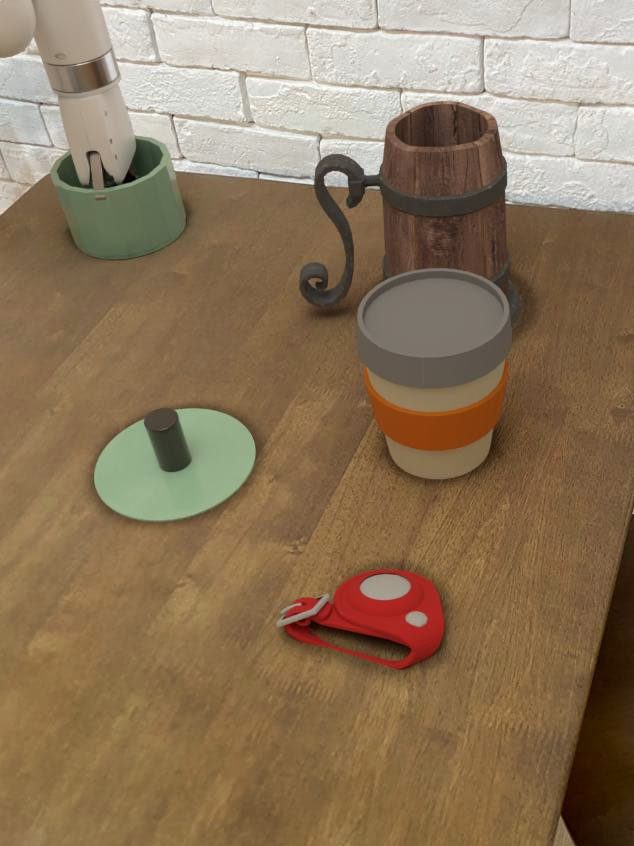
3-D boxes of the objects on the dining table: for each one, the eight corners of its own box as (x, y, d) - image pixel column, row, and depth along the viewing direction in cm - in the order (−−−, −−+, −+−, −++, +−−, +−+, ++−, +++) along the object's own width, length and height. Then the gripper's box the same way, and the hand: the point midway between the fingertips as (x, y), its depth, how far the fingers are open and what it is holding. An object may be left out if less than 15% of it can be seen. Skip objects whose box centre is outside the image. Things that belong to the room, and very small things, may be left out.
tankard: (519, 263, 104) (525, 78, 89) (537, 357, 93) (547, 163, 78) (310, 278, 105) (280, 97, 90) (302, 372, 94) (267, 183, 79)
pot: (62, 262, 110) (36, 195, 104) (89, 204, 120) (66, 138, 113) (176, 256, 110) (157, 188, 103) (194, 198, 119) (177, 131, 112)
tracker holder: (397, 545, 76) (474, 598, 69) (398, 591, 78) (473, 648, 71) (263, 592, 70) (333, 657, 63) (268, 641, 72) (336, 709, 65)
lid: (80, 532, 81) (56, 482, 76) (116, 420, 91) (96, 369, 86) (248, 525, 80) (233, 474, 76) (265, 413, 90) (254, 362, 85)
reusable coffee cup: (468, 389, 90) (466, 250, 79) (535, 469, 82) (543, 327, 71) (349, 432, 87) (329, 294, 76) (406, 519, 79) (393, 379, 68)
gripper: (67, 40, 106) (115, 191, 120) (27, 106, 95) (85, 264, 109) (132, 36, 106) (173, 188, 120) (99, 101, 95) (149, 260, 109)
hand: (131, 222), depth 114 cm, fingers open, 4 cm apart
